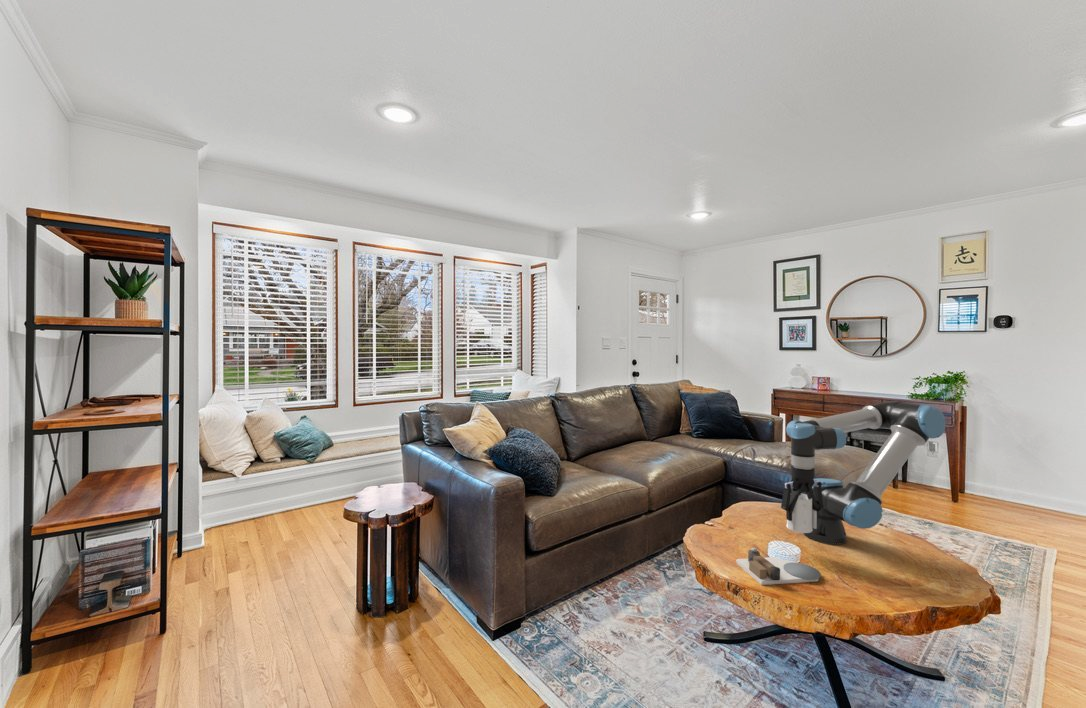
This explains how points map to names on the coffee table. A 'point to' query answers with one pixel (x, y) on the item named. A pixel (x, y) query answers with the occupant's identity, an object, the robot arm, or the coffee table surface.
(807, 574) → the stand board
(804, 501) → the mug
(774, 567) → the leg
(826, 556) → the coffee table surface
